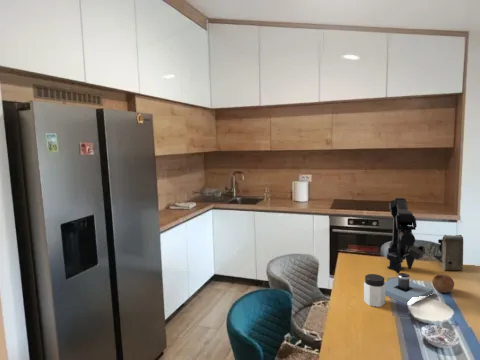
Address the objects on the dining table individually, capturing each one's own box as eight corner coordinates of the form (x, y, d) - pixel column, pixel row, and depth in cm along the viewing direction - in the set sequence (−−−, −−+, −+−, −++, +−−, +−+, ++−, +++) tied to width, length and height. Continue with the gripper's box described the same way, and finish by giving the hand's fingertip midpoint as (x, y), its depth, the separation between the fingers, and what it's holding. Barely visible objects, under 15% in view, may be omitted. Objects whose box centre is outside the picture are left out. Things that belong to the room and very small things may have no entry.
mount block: (397, 281, 174) (397, 277, 174) (432, 294, 159) (432, 289, 159) (375, 291, 165) (375, 286, 164) (410, 305, 149) (410, 300, 149)
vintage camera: (449, 262, 198) (449, 228, 197) (463, 271, 183) (463, 235, 181) (431, 262, 199) (431, 229, 198) (444, 271, 184) (444, 236, 182)
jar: (364, 305, 151) (364, 280, 150) (363, 297, 159) (363, 273, 157) (385, 308, 148) (386, 282, 147) (384, 299, 156) (384, 274, 155)
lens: (401, 289, 165) (402, 272, 164) (411, 293, 161) (411, 275, 160) (395, 292, 163) (396, 274, 161) (405, 296, 158) (405, 277, 157)
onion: (436, 298, 161) (428, 282, 159) (436, 286, 168) (428, 270, 167) (458, 296, 156) (450, 279, 154) (456, 283, 163) (449, 267, 161)
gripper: (409, 247, 147) (408, 281, 149) (432, 239, 156) (431, 271, 158) (386, 241, 156) (385, 273, 158) (409, 234, 166) (409, 264, 168)
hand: (403, 271), depth 160 cm, fingers open, 9 cm apart
